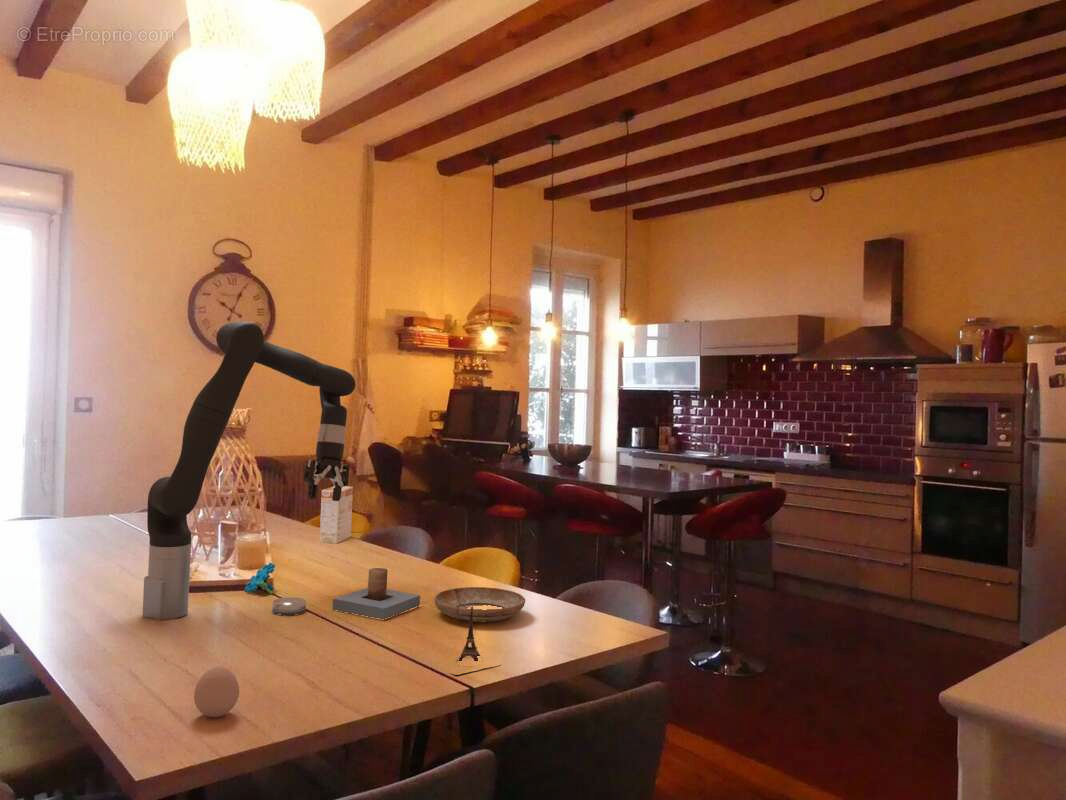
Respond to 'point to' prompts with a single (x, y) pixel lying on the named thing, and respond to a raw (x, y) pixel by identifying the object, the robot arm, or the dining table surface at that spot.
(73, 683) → the dining table surface
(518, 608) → the ceramic bowl
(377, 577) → the peg
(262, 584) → the blue flower cluster
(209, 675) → the egg
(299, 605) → the pedestal
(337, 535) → the coffeecake box
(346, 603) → the hub block
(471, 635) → the eiffel tower figurine
